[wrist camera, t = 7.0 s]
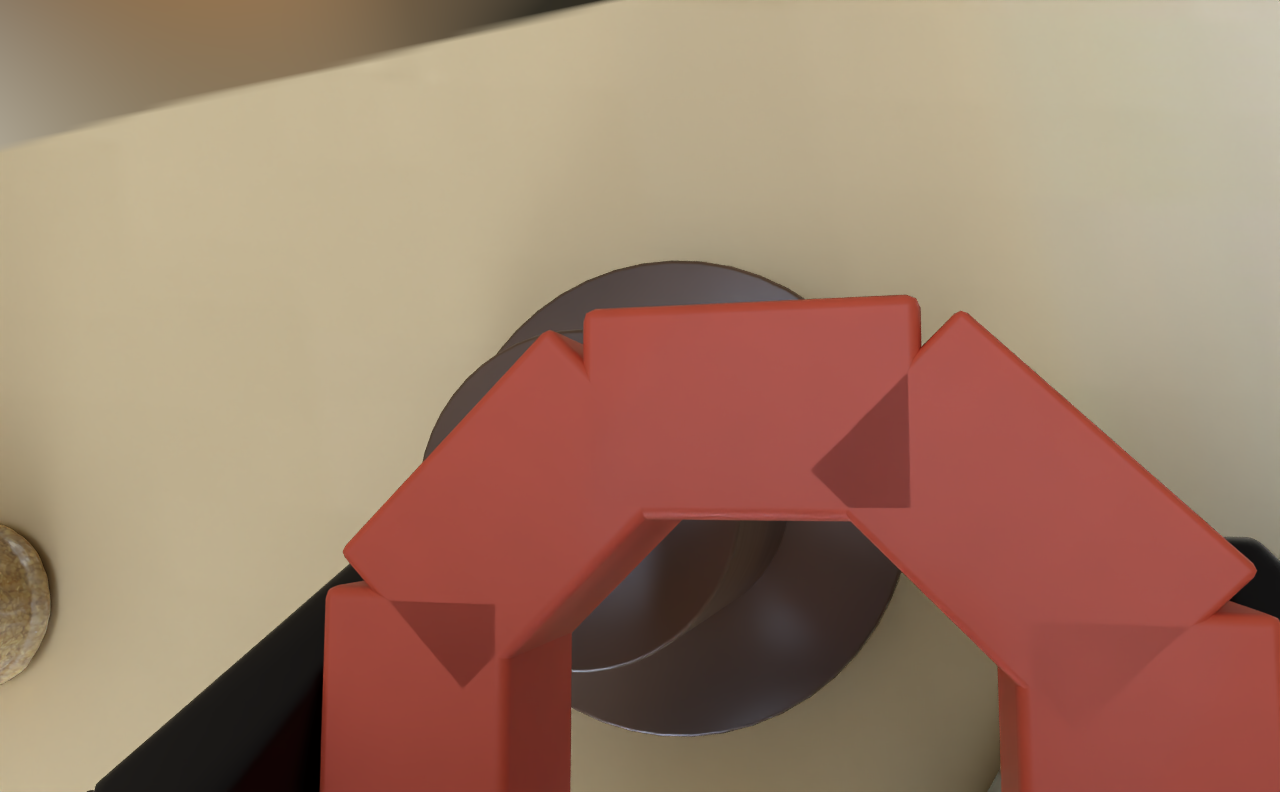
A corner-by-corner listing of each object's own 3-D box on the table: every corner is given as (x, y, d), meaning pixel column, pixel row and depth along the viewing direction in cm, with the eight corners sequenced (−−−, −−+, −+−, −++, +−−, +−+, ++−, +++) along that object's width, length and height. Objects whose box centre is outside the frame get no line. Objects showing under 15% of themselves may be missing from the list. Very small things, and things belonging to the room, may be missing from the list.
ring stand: (1015, 502, 21) (1119, 523, 10) (675, 816, 22) (471, 1108, 12) (688, 185, 23) (512, -50, 13) (397, 484, 24) (28, 486, 14)
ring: (1244, 1233, 7) (1335, 1432, 6) (403, 1088, 9) (301, 1211, 8) (1199, 316, 8) (1267, 274, 6) (421, 346, 10) (329, 318, 8)
